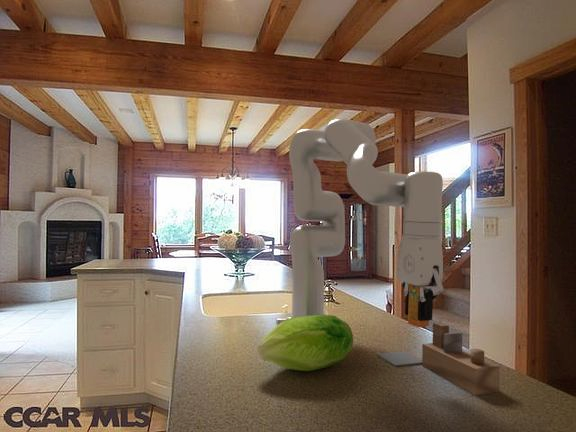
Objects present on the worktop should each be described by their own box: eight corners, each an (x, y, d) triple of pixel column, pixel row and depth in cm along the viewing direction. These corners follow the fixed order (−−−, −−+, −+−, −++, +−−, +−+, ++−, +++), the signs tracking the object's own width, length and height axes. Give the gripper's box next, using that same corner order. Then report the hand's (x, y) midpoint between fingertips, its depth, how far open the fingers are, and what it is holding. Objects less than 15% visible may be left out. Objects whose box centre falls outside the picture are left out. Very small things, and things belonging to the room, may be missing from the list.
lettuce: (248, 366, 89) (249, 314, 89) (335, 353, 98) (335, 306, 98) (270, 389, 77) (271, 329, 77) (366, 372, 87) (367, 318, 87)
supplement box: (406, 323, 84) (407, 276, 84) (418, 322, 86) (420, 276, 86) (417, 328, 81) (419, 279, 81) (429, 326, 83) (431, 278, 83)
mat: (395, 366, 90) (395, 365, 90) (377, 355, 97) (377, 353, 97) (425, 363, 92) (425, 361, 92) (405, 352, 100) (405, 351, 100)
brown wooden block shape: (474, 395, 76) (475, 342, 76) (422, 365, 91) (422, 322, 91) (499, 391, 77) (499, 340, 78) (443, 363, 93) (444, 320, 93)
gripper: (384, 228, 90) (381, 308, 90) (432, 233, 74) (428, 330, 74) (413, 228, 92) (410, 307, 93) (464, 233, 76) (460, 328, 77)
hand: (418, 316), depth 83 cm, fingers closed on supplement box, 3 cm apart
